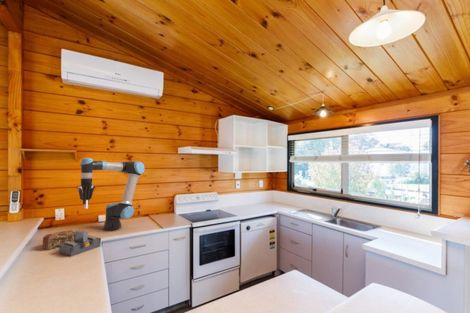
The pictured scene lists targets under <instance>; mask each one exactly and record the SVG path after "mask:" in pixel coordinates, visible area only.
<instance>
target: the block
mask: <svg viewBox="0 0 470 313" xmlns="http://www.w3.org/2000/svg"><path fill="white" fill-rule="evenodd" d="M74 232H75V241H76V242H80V243H84V242H87V238H88V236H89V235H88V234H89V232H88V231H87V230H81V229H78V230H75V231H74Z"/></svg>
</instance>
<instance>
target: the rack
mask: <svg viewBox="0 0 470 313" xmlns="http://www.w3.org/2000/svg"><path fill="white" fill-rule="evenodd" d="M101 241H102V238H101V237H96V236H92V235H88V238H87V242H84V243H80V242H76V241H75V240H72V241H67V242H64V243H62V244H59V248H58V254H61V255H64V256H67V257H74V256H77V255H80V254H84V253H85V252H88V251H91V250H94V249H97V248H100V247H101V244H102V243H101Z"/></svg>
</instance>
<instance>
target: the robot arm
mask: <svg viewBox="0 0 470 313" xmlns="http://www.w3.org/2000/svg"><path fill="white" fill-rule="evenodd" d="M79 165H80V186H78V187H77V188H76V189H77V191H78V194H79V200H81V201H82V205H83V209H87V210H88V209H89V203H90V200H91V199H92V197H93V194H94V190H95V189H96V186H94V185H93V171H114V172H115V171H116V172H118V173H124V174H125V173H126V174H127V176H128V177H127V181H126V184H125V188H124V192H123V195H122V198H121V201H119V202H114V203H108V204H106V206H105V222H104V225H103V227H102V229H103V230H104V231H116V230H119V228H120V229H121V228H122V221H121V219H122V220H128V219H130V218H131V217H132V216H133V215H134V212H135V210H134V209H135V208H134V207H133V203H132V202H133V199H134V196H135V191H136V187H137V183H138V179H139V178H141V175H142V174H143V173H144V172H145V164H144V163H143V162H140V161H118V162H113V161H110V162H109V161H105V160H94V159H93V158H87V157H85V158H83V157H82V159H81V162H80V164H79ZM115 229H116V230H115Z"/></svg>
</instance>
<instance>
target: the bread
mask: <svg viewBox="0 0 470 313" xmlns="http://www.w3.org/2000/svg"><path fill="white" fill-rule="evenodd" d="M72 240H75V231H74V230H72V229H71V230H63V231H62V230H61V231H56V232H52V233H48V234H46V235H44V236H43V237H42V247H43V248H44V249H45V250H46V251H47V250H52V249H59V244H62V243H64V242H67V241H72Z"/></svg>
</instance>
